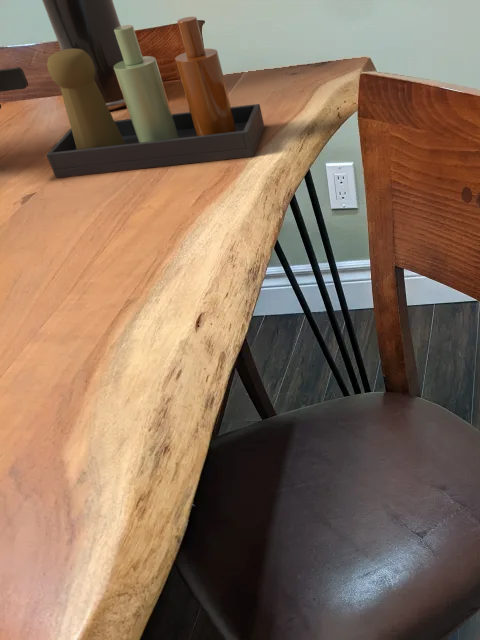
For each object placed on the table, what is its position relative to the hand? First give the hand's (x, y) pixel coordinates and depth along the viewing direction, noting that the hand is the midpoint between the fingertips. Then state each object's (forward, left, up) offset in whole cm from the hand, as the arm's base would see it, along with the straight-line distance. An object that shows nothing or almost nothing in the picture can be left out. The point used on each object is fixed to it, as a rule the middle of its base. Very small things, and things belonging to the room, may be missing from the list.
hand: (11, 88), depth 83 cm
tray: (-1, +16, -9) cm, 18 cm away
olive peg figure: (-1, +8, -8) cm, 12 cm away
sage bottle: (-1, +16, -8) cm, 18 cm away
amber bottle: (-2, +23, -8) cm, 25 cm away
